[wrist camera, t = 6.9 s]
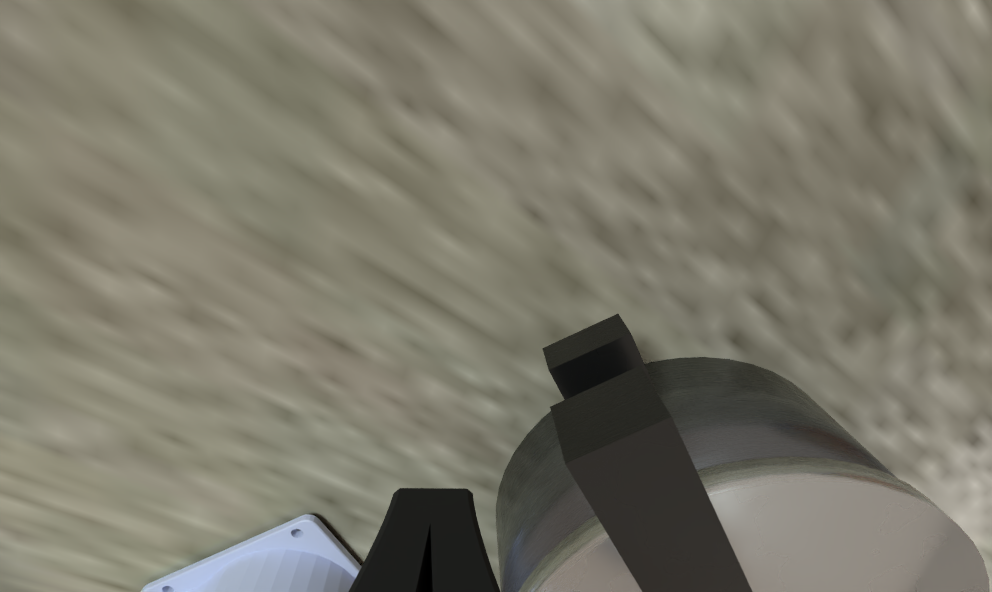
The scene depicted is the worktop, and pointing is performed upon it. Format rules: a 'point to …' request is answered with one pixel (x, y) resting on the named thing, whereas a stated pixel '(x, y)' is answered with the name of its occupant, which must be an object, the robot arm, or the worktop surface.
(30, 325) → the worktop surface
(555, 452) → the cooker pot
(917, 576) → the lid
